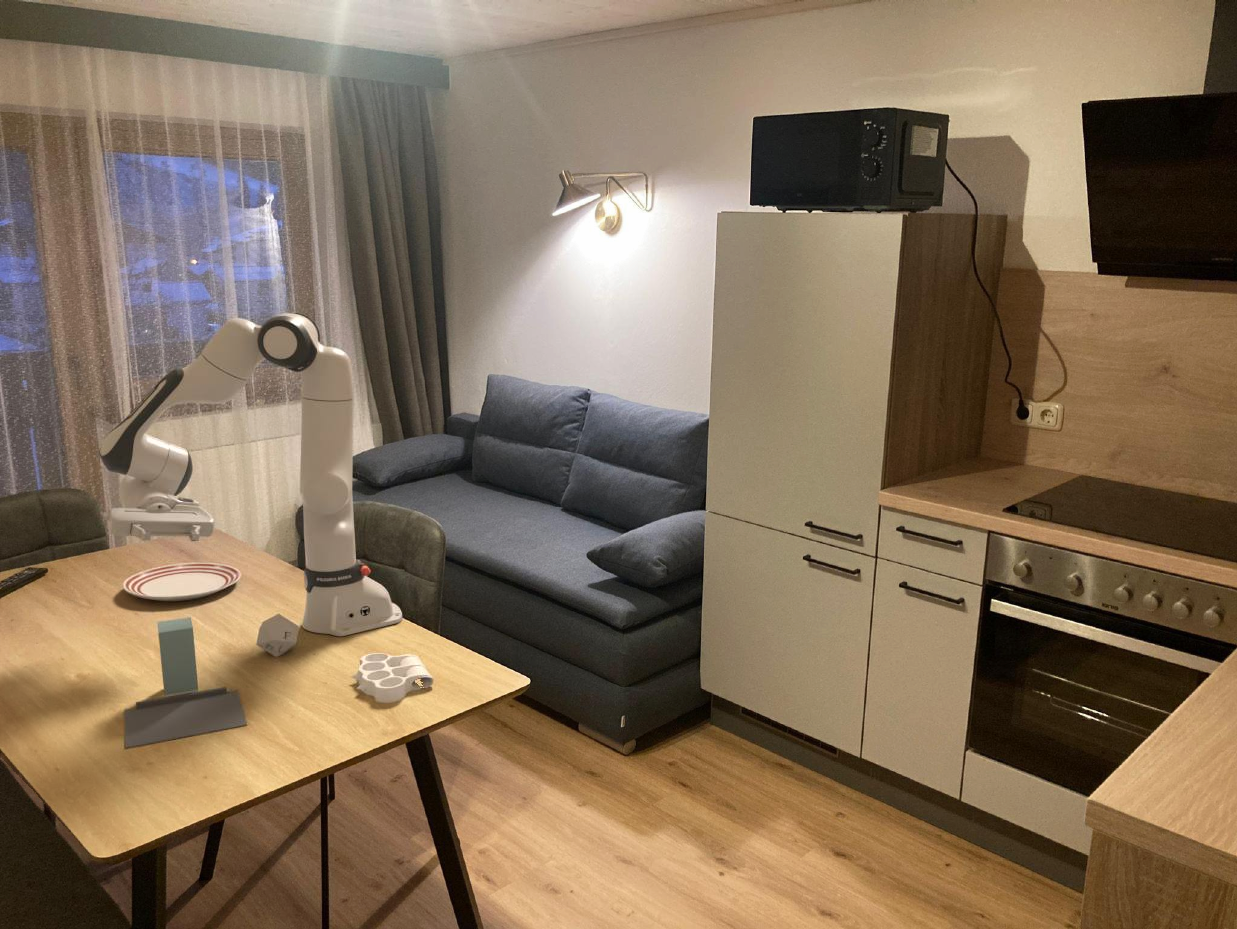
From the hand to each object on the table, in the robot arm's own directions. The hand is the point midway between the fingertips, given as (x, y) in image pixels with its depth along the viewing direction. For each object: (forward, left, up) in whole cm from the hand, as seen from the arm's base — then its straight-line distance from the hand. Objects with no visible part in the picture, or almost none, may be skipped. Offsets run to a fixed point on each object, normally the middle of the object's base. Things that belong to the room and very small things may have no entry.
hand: (171, 537), depth 201 cm
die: (-19, +2, -28) cm, 34 cm away
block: (+1, +14, -27) cm, 31 cm away
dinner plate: (-3, -49, -28) cm, 56 cm away
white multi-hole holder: (-37, +27, -28) cm, 54 cm away
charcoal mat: (+1, +26, -27) cm, 38 cm away
